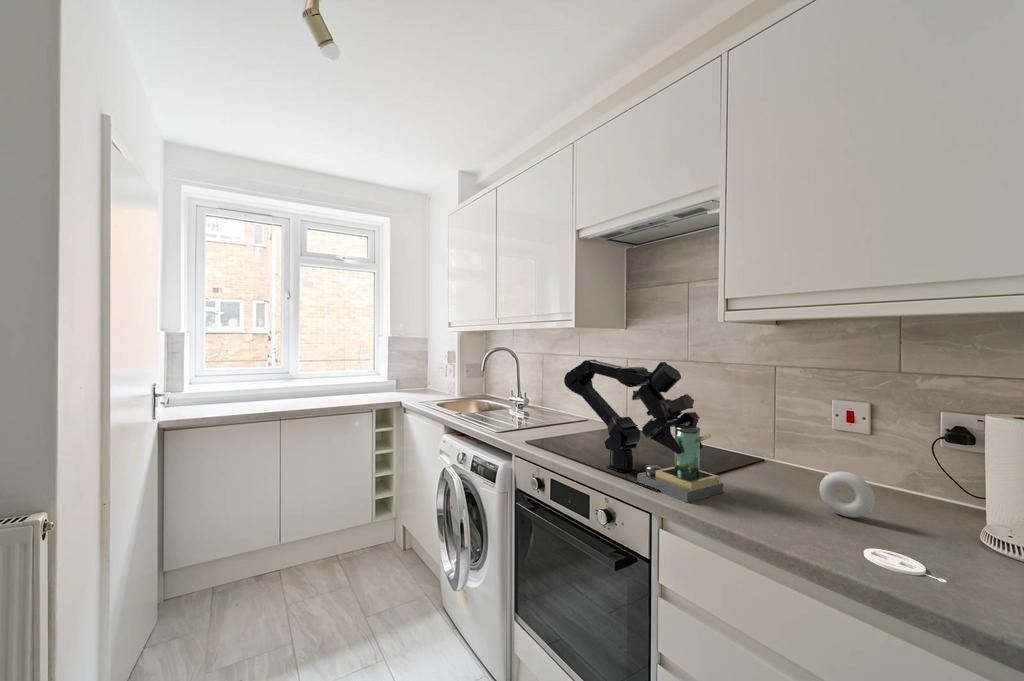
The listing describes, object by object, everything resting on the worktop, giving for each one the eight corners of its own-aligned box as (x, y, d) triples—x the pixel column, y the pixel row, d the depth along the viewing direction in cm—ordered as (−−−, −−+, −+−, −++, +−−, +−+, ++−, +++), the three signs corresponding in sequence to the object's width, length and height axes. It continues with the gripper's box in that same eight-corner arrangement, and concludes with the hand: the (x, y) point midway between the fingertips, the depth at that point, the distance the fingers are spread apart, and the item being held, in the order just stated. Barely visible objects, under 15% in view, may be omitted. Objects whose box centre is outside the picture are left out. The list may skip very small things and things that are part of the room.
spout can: (669, 479, 111) (670, 426, 111) (682, 475, 114) (683, 424, 114) (703, 490, 103) (704, 433, 103) (716, 485, 106) (717, 430, 106)
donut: (876, 521, 92) (877, 476, 92) (872, 526, 89) (873, 479, 89) (821, 507, 99) (822, 465, 99) (817, 511, 97) (817, 468, 97)
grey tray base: (637, 482, 116) (637, 466, 116) (671, 475, 122) (671, 459, 122) (687, 502, 102) (687, 484, 102) (722, 492, 109) (722, 475, 109)
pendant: (872, 549, 80) (872, 544, 80) (954, 577, 71) (954, 572, 71) (856, 558, 76) (856, 554, 76) (940, 590, 67) (940, 585, 67)
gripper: (651, 386, 108) (690, 438, 99) (693, 383, 119) (732, 429, 110) (627, 412, 114) (661, 463, 105) (668, 406, 125) (703, 452, 116)
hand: (691, 450), depth 109 cm, fingers open, 9 cm apart
